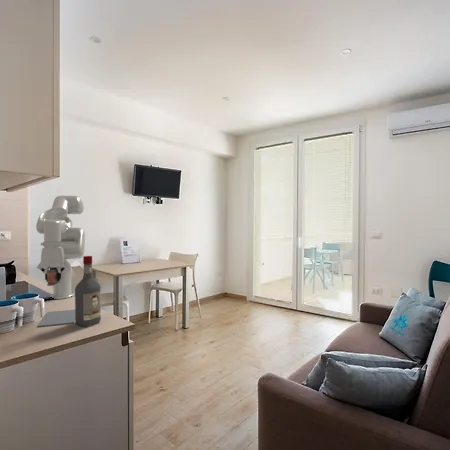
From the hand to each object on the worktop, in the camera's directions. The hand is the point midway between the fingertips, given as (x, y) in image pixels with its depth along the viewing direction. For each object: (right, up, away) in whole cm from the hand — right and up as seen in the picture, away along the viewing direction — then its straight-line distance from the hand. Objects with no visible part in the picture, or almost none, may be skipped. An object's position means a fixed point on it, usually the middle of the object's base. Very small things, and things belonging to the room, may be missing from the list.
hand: (53, 280), depth 158 cm
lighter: (0, -2, 0) cm, 2 cm away
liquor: (+25, -16, -17) cm, 35 cm away
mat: (+9, -16, -11) cm, 21 cm away
